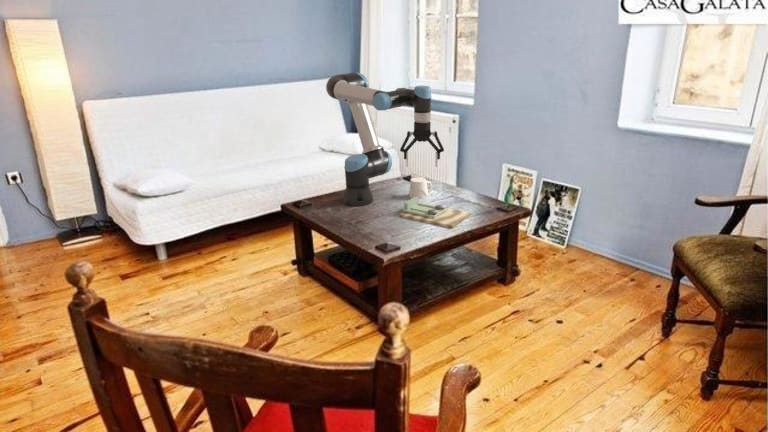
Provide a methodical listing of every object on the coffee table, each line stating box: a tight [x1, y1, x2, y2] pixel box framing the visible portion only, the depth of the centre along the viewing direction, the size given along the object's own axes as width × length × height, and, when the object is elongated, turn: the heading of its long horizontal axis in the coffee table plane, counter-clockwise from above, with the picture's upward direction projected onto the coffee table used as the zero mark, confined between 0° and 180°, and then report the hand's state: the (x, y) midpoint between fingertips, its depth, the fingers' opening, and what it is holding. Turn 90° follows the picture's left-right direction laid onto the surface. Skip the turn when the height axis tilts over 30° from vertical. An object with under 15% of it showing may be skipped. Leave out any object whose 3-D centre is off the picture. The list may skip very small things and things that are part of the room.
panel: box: [402, 197, 448, 218], centre depth 236 cm, size 17×12×4 cm
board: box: [399, 204, 472, 229], centre depth 234 cm, size 28×18×4 cm, turn 55°
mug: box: [408, 176, 433, 200], centre depth 259 cm, size 12×9×8 cm
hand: (421, 166), depth 236 cm, fingers open, 13 cm apart
